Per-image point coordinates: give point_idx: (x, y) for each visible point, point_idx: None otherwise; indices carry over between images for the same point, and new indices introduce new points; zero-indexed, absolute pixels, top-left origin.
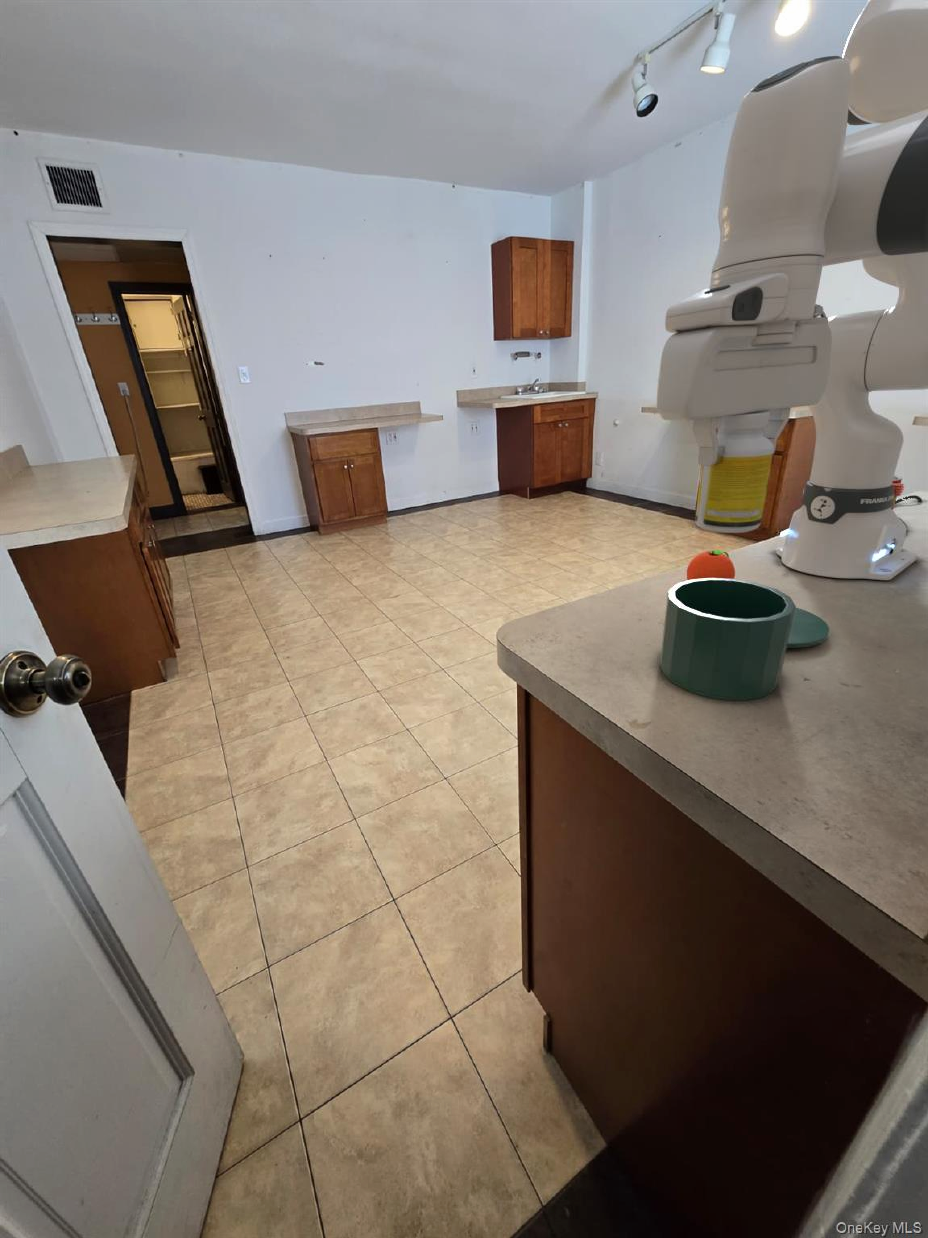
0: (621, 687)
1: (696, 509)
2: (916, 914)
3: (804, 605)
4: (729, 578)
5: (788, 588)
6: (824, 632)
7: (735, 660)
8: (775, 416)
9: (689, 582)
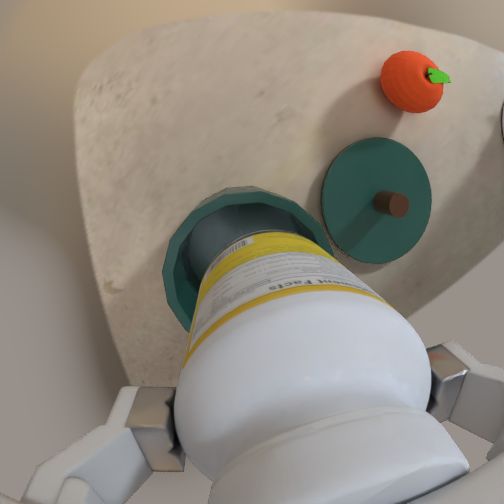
0: (128, 229)
1: (213, 264)
2: None
3: (450, 182)
4: (417, 112)
5: (470, 143)
6: (398, 254)
7: None
8: (500, 449)
9: (248, 201)
